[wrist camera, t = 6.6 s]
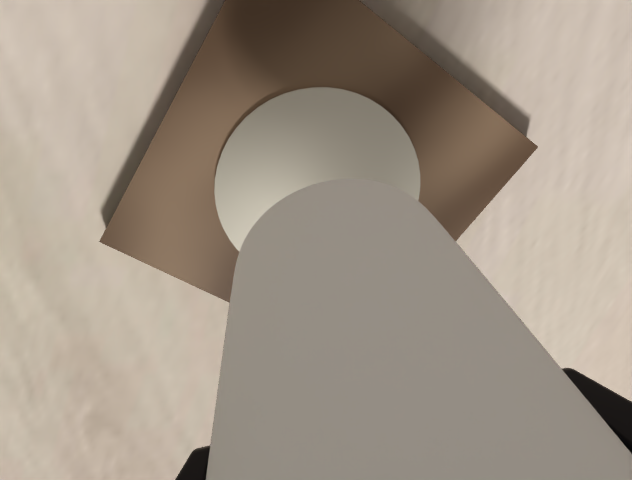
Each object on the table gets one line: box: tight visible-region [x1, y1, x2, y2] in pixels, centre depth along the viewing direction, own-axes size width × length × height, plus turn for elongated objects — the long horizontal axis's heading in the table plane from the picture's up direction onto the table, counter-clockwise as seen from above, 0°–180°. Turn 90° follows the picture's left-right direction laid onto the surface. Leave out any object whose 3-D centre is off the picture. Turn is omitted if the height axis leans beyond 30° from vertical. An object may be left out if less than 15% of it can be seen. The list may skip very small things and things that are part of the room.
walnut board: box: [99, 0, 538, 302], centre depth 19 cm, size 14×14×1 cm
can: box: [206, 179, 632, 480], centre depth 8 cm, size 6×6×12 cm
